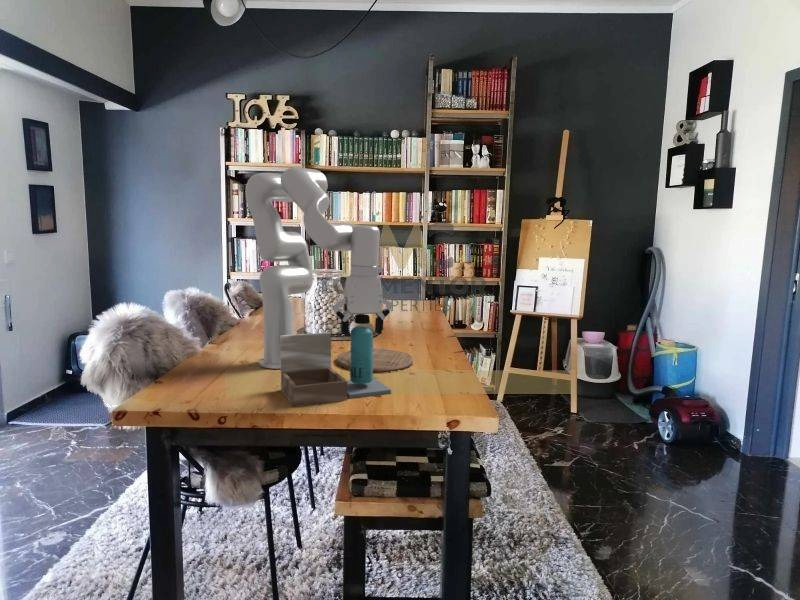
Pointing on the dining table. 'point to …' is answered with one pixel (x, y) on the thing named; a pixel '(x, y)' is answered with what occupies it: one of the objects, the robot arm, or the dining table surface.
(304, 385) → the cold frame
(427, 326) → the dining table surface
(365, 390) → the slate mat
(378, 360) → the trivet
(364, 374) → the beverage bottle
